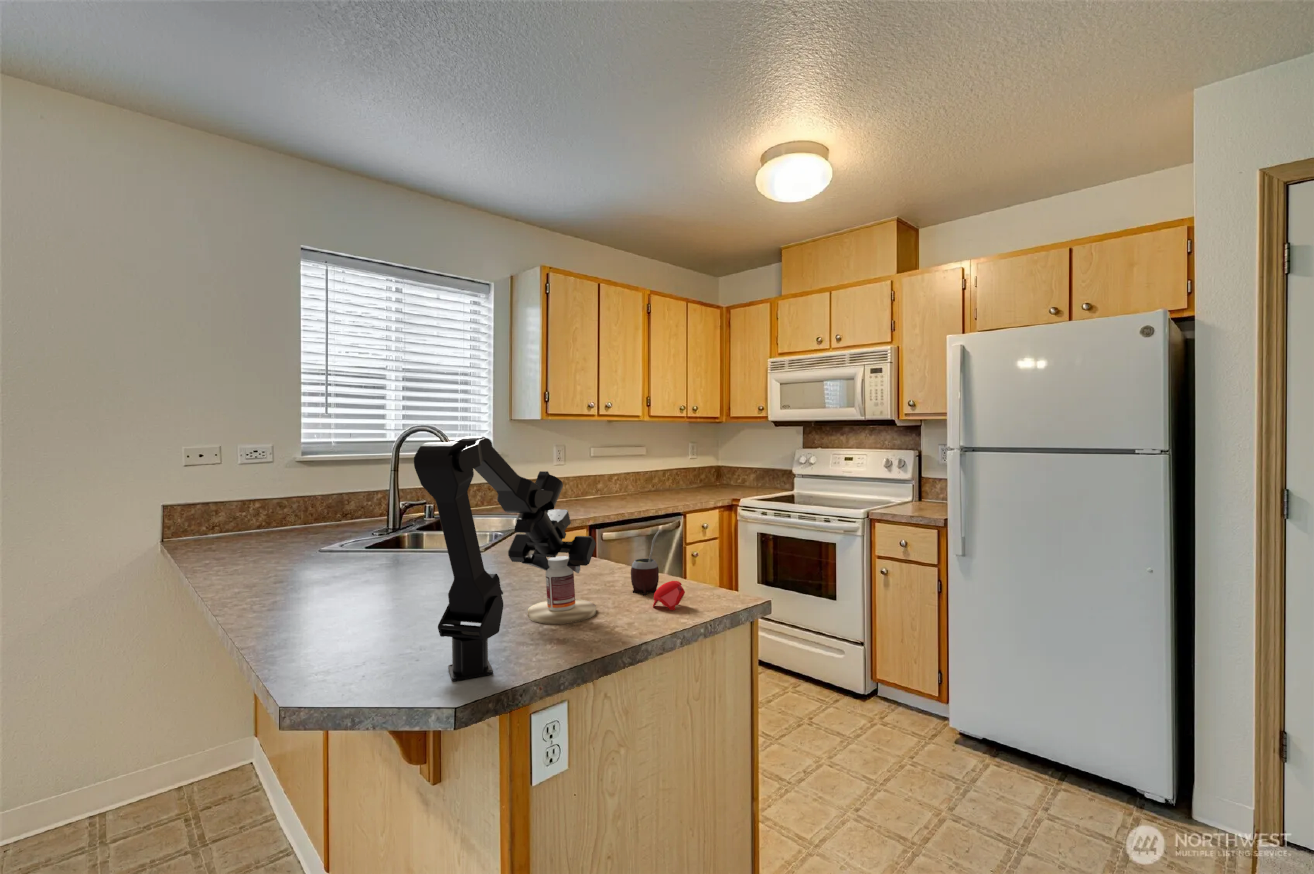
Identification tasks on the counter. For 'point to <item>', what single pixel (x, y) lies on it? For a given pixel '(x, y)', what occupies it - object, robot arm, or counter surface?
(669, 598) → the cap
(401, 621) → the counter surface
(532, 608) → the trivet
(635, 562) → the mate gourd
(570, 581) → the pill bottle
